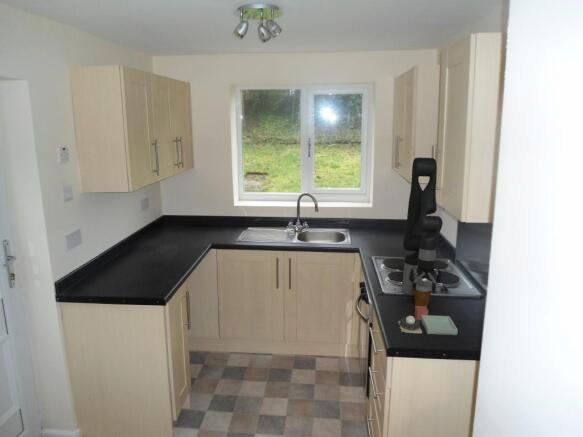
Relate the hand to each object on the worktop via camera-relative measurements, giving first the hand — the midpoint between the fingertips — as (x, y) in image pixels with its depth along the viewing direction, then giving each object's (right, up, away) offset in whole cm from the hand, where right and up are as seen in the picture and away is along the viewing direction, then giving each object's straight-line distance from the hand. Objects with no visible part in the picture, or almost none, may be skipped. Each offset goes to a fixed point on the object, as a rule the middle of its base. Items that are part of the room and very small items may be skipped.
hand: (423, 289), depth 212 cm
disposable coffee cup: (+3, -11, +16) cm, 20 cm away
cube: (0, -14, +4) cm, 15 cm away
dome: (-8, -15, -7) cm, 18 cm away
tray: (+5, -16, -5) cm, 18 cm away
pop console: (-8, -16, -7) cm, 20 cm away
